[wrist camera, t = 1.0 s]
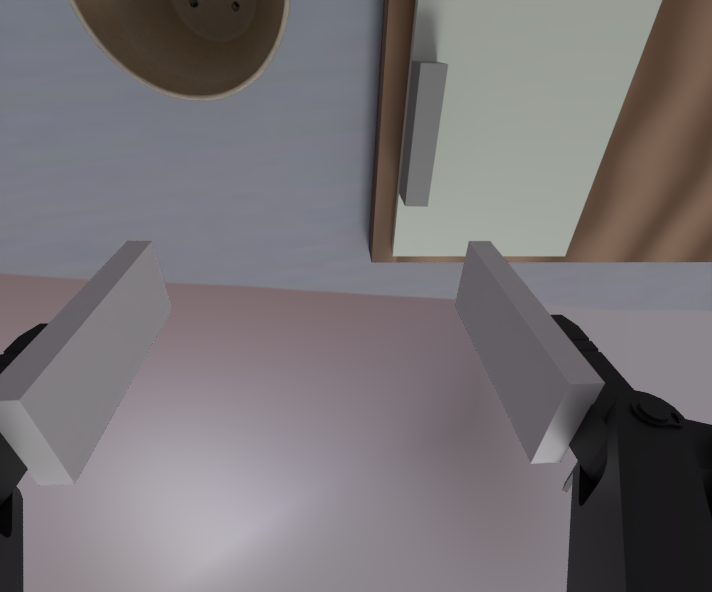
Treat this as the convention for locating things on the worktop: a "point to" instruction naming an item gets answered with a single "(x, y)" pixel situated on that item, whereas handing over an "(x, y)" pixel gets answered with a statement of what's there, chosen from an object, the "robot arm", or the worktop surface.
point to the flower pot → (187, 41)
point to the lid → (510, 119)
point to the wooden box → (620, 160)
